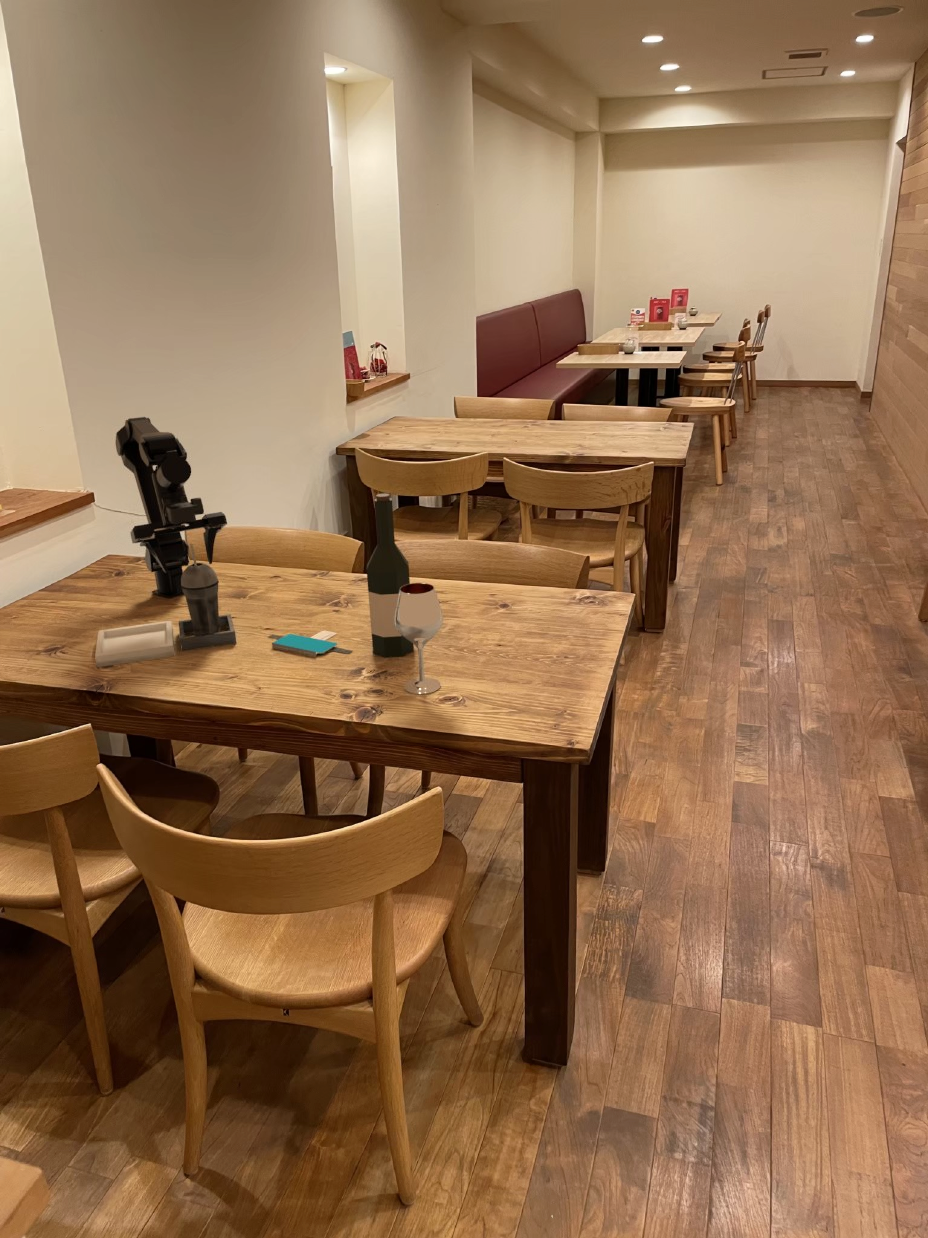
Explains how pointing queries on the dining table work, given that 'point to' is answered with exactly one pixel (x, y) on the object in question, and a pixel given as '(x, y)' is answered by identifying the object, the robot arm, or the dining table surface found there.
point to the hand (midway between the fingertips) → (188, 568)
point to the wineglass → (419, 627)
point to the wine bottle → (386, 584)
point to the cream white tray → (134, 643)
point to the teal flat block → (307, 644)
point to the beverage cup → (201, 596)
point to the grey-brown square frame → (207, 635)
